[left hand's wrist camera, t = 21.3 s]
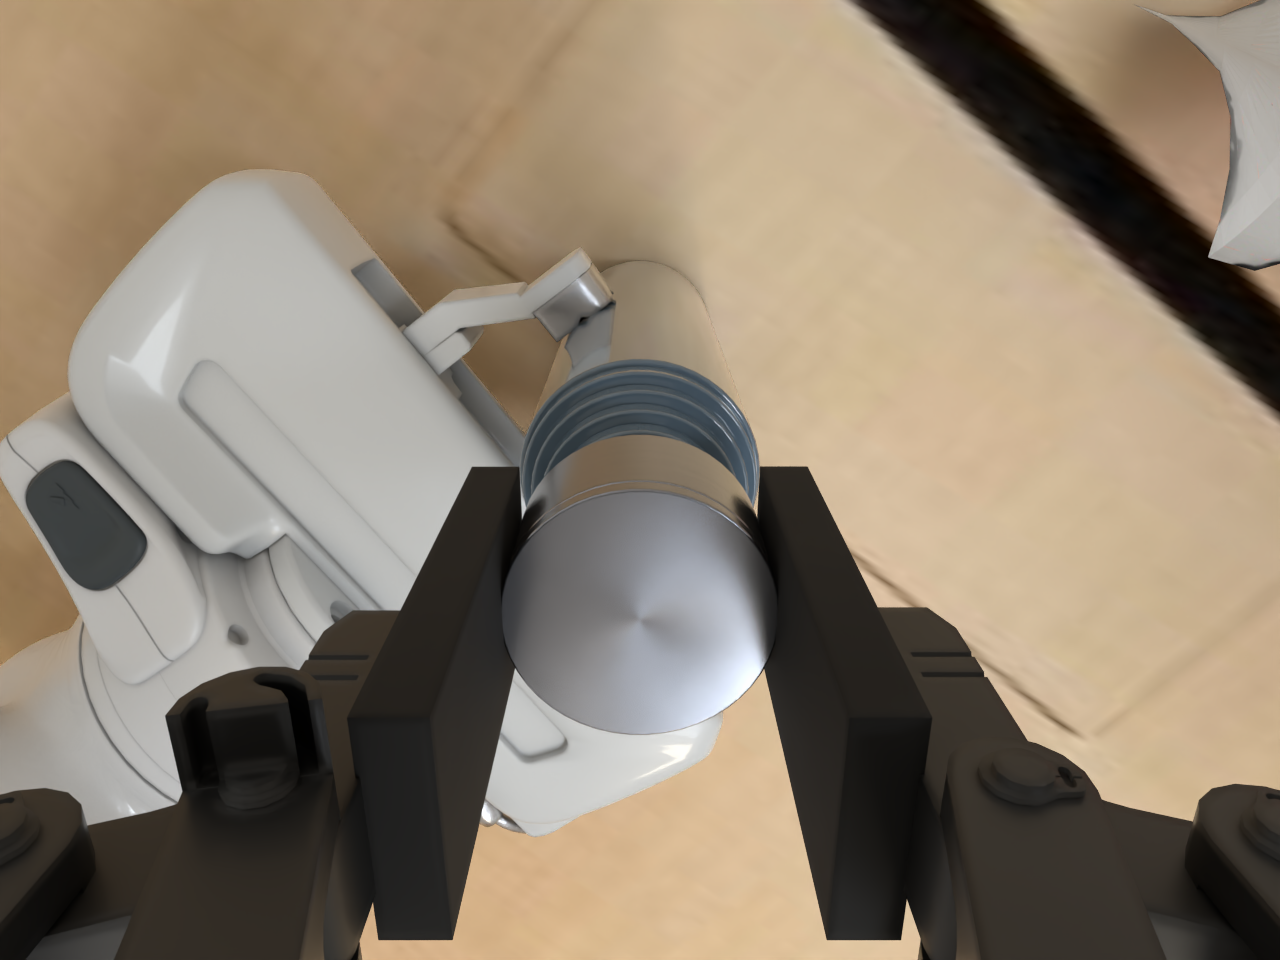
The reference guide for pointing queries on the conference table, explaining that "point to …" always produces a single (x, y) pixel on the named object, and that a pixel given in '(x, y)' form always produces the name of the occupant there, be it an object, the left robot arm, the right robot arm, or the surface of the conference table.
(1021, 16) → the conference table surface
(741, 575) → the cap
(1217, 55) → the fish
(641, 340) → the bottle
